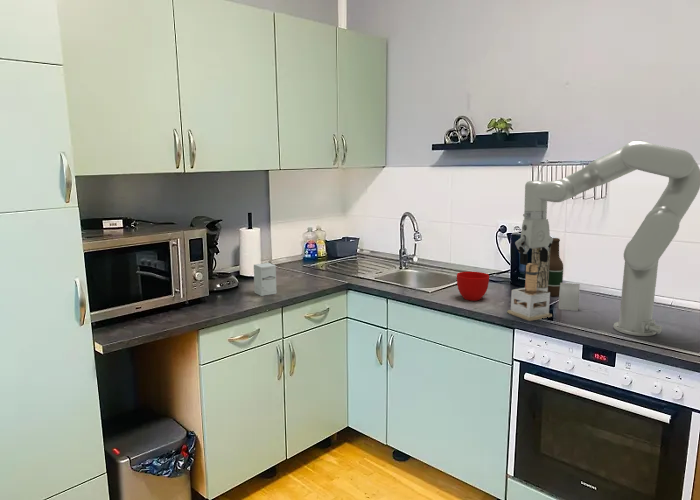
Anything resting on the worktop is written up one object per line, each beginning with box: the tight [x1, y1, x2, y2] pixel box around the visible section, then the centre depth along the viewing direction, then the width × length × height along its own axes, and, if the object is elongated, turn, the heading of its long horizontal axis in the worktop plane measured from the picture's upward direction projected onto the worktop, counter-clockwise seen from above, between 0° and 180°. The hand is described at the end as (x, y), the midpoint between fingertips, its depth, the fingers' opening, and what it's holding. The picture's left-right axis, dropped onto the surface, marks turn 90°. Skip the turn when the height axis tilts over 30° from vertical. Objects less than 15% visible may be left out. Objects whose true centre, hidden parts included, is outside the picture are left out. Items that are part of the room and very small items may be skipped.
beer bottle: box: [548, 237, 564, 298], centre depth 217 cm, size 8×8×24 cm
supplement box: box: [253, 262, 278, 297], centre depth 222 cm, size 7×7×13 cm
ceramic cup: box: [456, 271, 490, 302], centre depth 214 cm, size 13×17×10 cm
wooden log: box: [530, 247, 551, 292], centre depth 208 cm, size 7×7×25 cm
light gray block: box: [558, 282, 581, 312], centre depth 198 cm, size 4×7×10 cm, turn 71°
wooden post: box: [524, 262, 538, 307], centre depth 189 cm, size 4×4×18 cm
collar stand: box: [506, 287, 553, 322], centre depth 190 cm, size 11×11×9 cm
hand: (533, 262), depth 187 cm, fingers open, 9 cm apart
